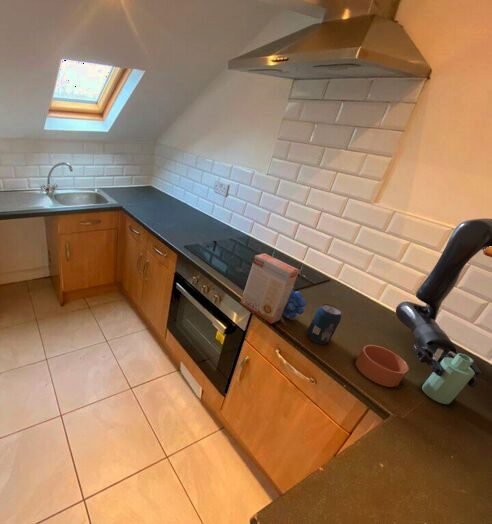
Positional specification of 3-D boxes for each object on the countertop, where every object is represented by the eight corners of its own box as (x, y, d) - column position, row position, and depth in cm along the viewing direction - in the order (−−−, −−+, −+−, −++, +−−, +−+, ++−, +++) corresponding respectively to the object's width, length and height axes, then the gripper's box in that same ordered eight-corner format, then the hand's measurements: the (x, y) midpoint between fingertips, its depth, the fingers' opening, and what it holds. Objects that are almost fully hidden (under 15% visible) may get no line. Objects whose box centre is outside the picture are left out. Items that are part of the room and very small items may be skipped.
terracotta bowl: (373, 356, 96) (381, 343, 93) (408, 383, 86) (418, 370, 84) (347, 360, 93) (354, 347, 90) (380, 389, 83) (390, 375, 81)
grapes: (268, 319, 107) (279, 291, 102) (266, 309, 113) (276, 281, 108) (302, 327, 106) (315, 298, 100) (298, 316, 111) (310, 288, 106)
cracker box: (280, 320, 108) (300, 269, 98) (270, 324, 105) (290, 273, 95) (249, 299, 118) (265, 252, 108) (239, 303, 115) (254, 254, 105)
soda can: (314, 329, 105) (327, 300, 100) (333, 341, 100) (348, 312, 95) (301, 334, 102) (315, 305, 96) (320, 347, 97) (335, 317, 91)
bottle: (431, 383, 87) (459, 347, 81) (455, 402, 82) (487, 365, 76) (416, 387, 86) (444, 350, 79) (440, 405, 80) (472, 368, 74)
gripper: (411, 323, 93) (431, 357, 79) (470, 340, 88) (502, 380, 74) (399, 341, 96) (416, 377, 82) (455, 359, 91) (483, 400, 77)
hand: (457, 378), depth 78 cm, fingers closed on bottle, 6 cm apart
